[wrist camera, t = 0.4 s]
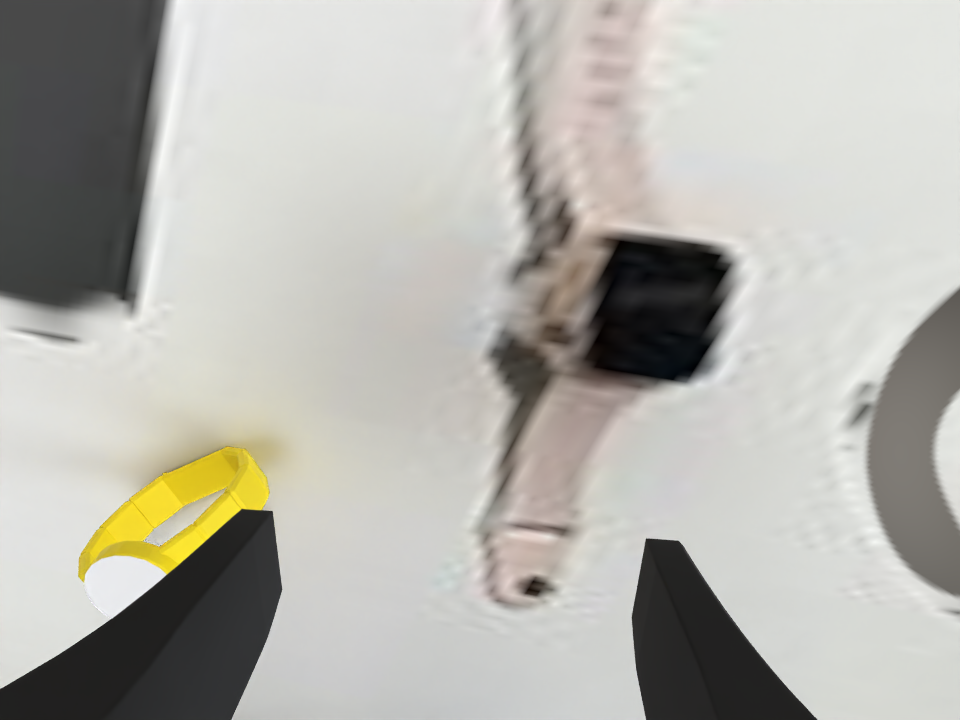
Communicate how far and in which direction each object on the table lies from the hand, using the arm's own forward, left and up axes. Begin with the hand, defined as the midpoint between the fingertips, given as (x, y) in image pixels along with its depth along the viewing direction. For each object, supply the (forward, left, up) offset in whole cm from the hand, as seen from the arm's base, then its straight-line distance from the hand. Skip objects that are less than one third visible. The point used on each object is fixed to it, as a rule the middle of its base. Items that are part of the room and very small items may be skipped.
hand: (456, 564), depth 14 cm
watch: (-7, +9, -10) cm, 15 cm away
